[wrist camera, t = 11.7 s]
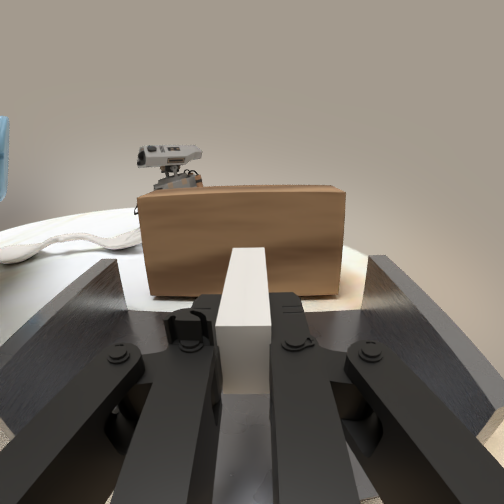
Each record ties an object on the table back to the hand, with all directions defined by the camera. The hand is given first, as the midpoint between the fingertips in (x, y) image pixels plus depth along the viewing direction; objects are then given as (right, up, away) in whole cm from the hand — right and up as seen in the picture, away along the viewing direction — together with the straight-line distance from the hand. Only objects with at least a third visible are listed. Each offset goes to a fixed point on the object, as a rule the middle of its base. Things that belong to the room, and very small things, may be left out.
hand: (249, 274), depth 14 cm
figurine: (-13, +4, +33) cm, 35 cm away
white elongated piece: (-30, 0, +25) cm, 39 cm away
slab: (-1, -2, +13) cm, 14 cm away
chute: (-1, -7, +1) cm, 7 cm away
